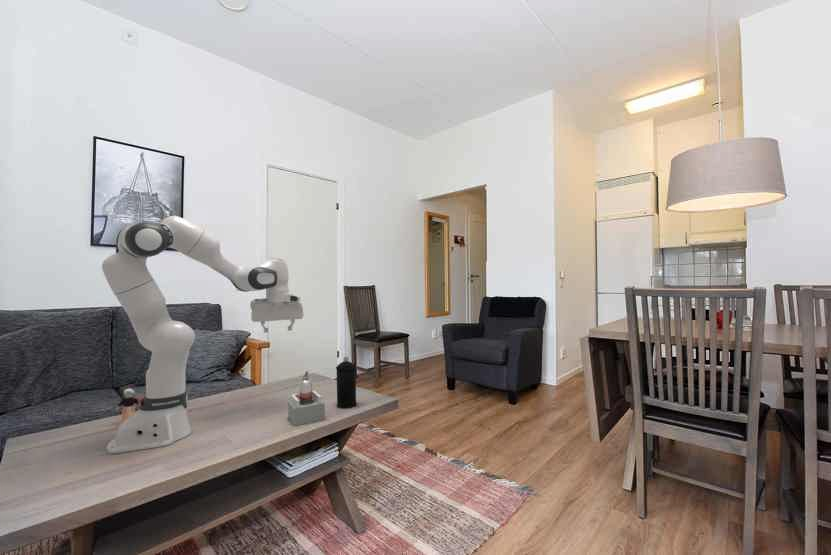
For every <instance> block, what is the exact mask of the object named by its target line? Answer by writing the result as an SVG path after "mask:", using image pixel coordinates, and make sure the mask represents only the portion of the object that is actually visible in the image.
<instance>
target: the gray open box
mask: <svg viewBox="0 0 831 555" xmlns="http://www.w3.org/2000/svg"><path fill="white" fill-rule="evenodd" d="M287 404H288V407H287V408H288V409H287V410H288V411H287V412H288V413H287V414H288V415H287V417H288V419H289V420H290V422H291V423H292V425H293V426H294V427H295V426H300V425H305V424H310V423H314V422H315V423H316V422H319V421H323V420H326V412H325V409H326V407H325V405H326V403H325V402H324V401H323V399H322V396H321V395H320V394H319V393H318V392H317V391H316V390H312V402H310V403H300V399H299V393H293V394H291V395H290V400H289V401H287Z"/></svg>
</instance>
